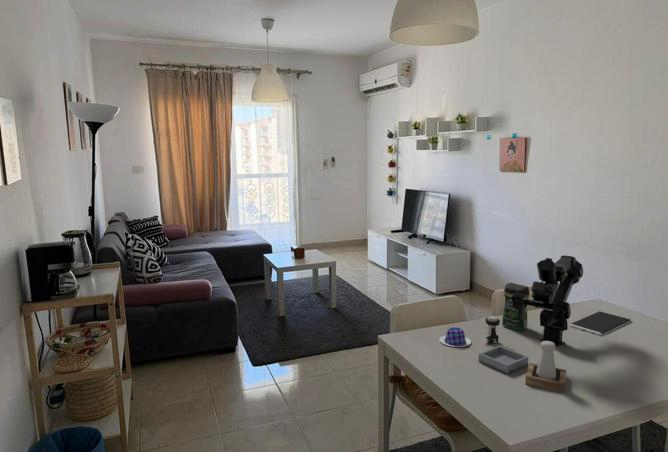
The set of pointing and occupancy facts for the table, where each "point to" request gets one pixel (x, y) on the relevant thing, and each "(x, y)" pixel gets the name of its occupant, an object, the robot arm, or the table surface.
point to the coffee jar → (510, 312)
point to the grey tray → (503, 359)
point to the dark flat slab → (600, 323)
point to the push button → (492, 329)
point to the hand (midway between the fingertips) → (532, 322)
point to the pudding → (455, 338)
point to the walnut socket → (545, 382)
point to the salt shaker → (547, 361)
